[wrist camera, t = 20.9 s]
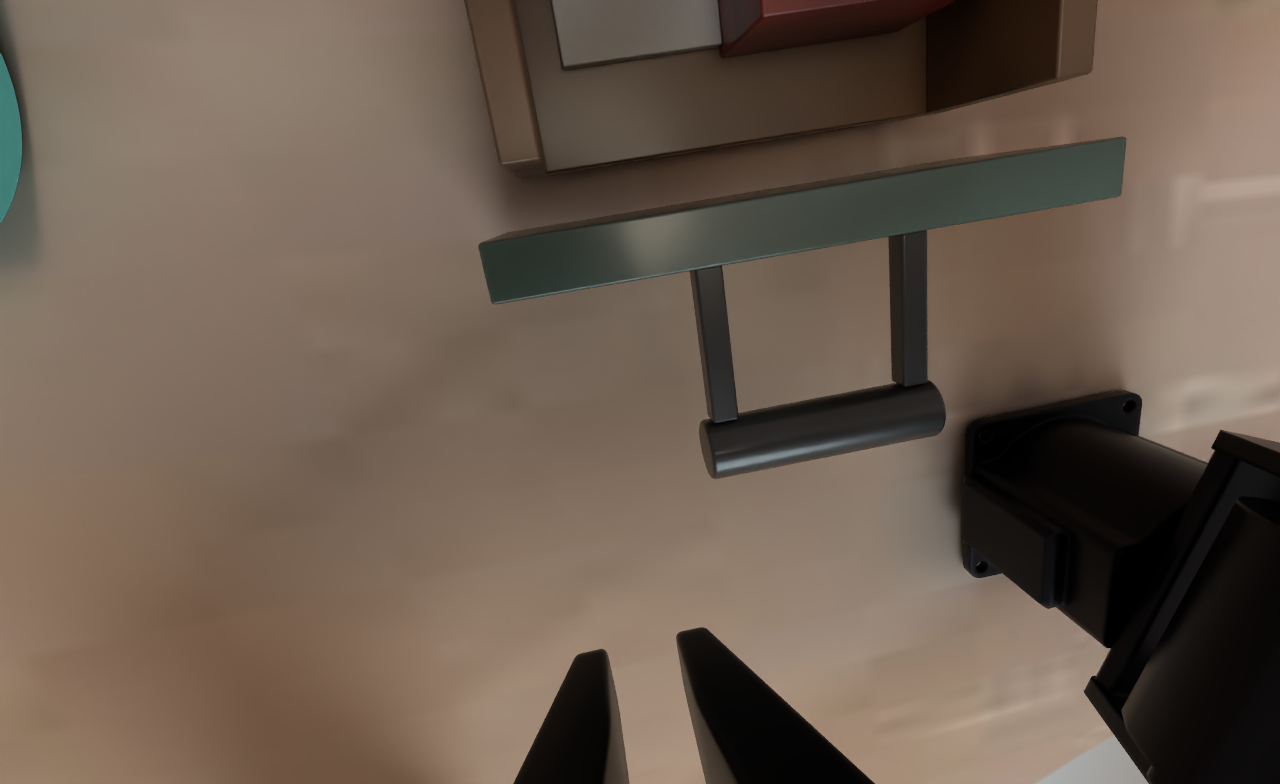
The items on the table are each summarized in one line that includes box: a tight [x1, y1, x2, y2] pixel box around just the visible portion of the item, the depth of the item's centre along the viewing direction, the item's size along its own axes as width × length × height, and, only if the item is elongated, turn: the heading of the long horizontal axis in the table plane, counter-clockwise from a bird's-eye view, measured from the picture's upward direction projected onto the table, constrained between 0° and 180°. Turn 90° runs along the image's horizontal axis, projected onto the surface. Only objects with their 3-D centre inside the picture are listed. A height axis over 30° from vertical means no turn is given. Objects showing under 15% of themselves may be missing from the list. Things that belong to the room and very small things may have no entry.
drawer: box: [464, 0, 1126, 479], centre depth 14 cm, size 15×13×6 cm
